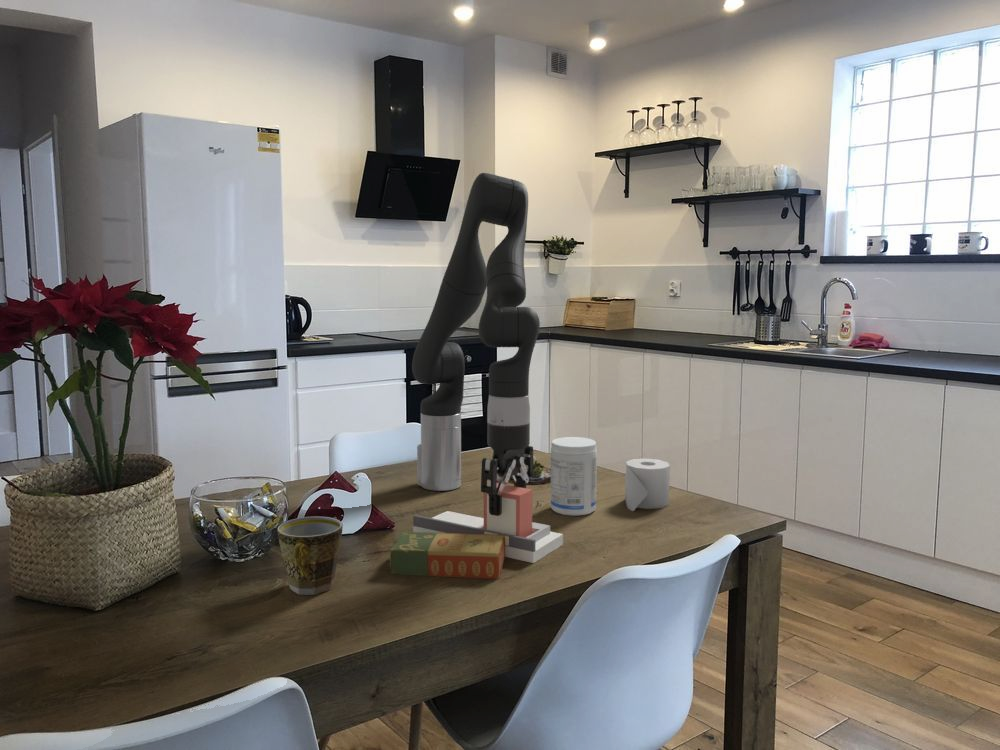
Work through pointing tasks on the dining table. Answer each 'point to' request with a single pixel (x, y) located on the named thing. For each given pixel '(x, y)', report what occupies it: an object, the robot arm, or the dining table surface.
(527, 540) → the shelf strip
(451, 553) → the carton
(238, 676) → the dining table surface
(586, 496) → the supplement tub
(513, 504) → the tea box
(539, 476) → the burger
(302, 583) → the ceramic cup
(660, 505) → the toilet tissue
